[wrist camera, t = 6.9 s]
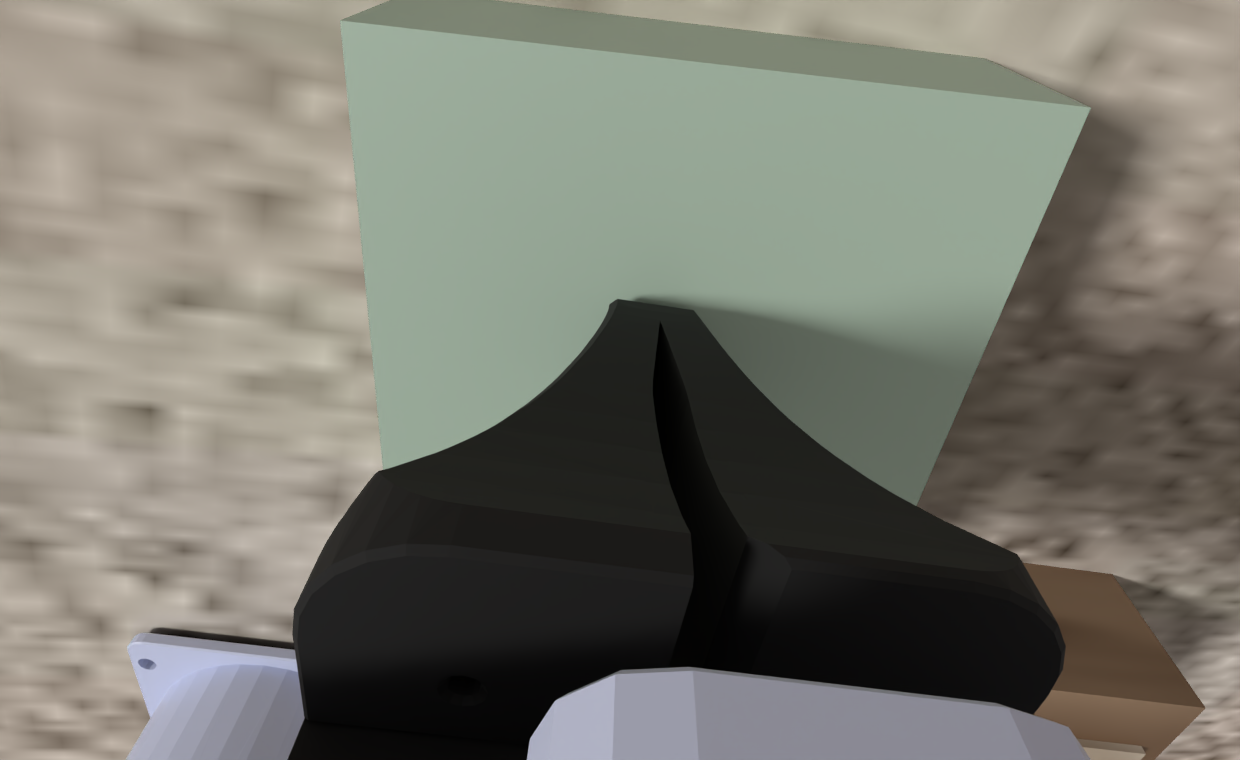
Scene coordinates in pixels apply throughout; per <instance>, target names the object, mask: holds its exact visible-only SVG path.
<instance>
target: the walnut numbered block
mask: <svg viewBox="0 0 1240 760" xmlns="http://www.w3.org/2000/svg"><path fill="white" fill-rule="evenodd" d="M1023 564H1024V566H1025V568H1026V569H1027V571H1028V573H1029V574H1030V576H1031V578H1032V580H1033V581H1034V583H1035V585H1036V587H1037V588H1038V590H1039V592H1040V593H1041V595H1042V597H1043V599H1044V600H1045V602H1046V604H1047V606H1048V607H1049V609H1050V611H1051V613H1052V614H1053V616H1054V618H1055V619H1056V621H1057V623H1058V625H1059V628H1060V631H1061V634H1062V637H1063V639H1064V642H1065V645H1066V650H1065V657H1064V665H1063V670H1062V672H1061V674H1060V676H1059V678H1058V679H1057V681H1056V683H1055V685H1054V686H1053V688H1052V690H1051V692H1050V693H1049V695H1048V697H1047V698H1046V699H1045V701H1044V702H1043V703H1042V704H1041V706H1040V707H1039V708H1038V710H1037V711H1036V712H1035V713H1034V715H1035V716H1038V717H1041V718H1044V719H1047V720H1050V721H1053V722H1056V723H1059V724H1061V725H1064V726H1067V727H1069V728H1070V730H1071V731H1072V733H1073V734H1074V736H1075V737H1076V739H1077V740H1078V741H1079V743H1080V744H1081V746H1082V747H1083V749H1084V750H1085V752H1086V753H1087V755H1088V756H1089V757H1090V759H1091V760H1154V759H1155V758H1156V757H1157V756H1158V755H1159V754H1160V753H1161V752H1162V751H1163V750H1164V749H1165V748H1166V747H1167V746H1168V745H1169V744H1170V743H1171V742H1172V741H1173V740H1174V739H1175V738H1176V737H1177V736H1178V735H1179V734H1180V733H1181V732H1182V731H1183V730H1184V729H1185V728H1186V727H1187V726H1188V725H1189V724H1190V723H1191V722H1192V721H1193V720H1194V719H1195V718H1196V717H1197V716H1198V715H1199V714H1200V713H1201V712H1202V711H1203V710H1204V709H1205V706H1204V705H1203V704H1202V702H1201V701H1200V699H1199V698H1198V696H1197V695H1196V694H1195V692H1194V691H1193V689H1192V688H1191V686H1190V685H1189V684H1188V682H1187V681H1186V679H1185V678H1184V676H1183V675H1182V674H1181V672H1180V671H1179V669H1178V668H1177V666H1176V665H1175V664H1174V662H1173V661H1172V659H1171V658H1170V656H1169V655H1168V654H1167V652H1166V651H1165V649H1164V648H1163V646H1162V645H1161V644H1160V642H1159V641H1158V639H1157V638H1156V636H1155V635H1154V634H1153V632H1152V631H1151V629H1150V628H1149V626H1148V625H1147V624H1146V622H1145V621H1144V619H1143V618H1142V616H1141V615H1140V613H1139V612H1138V611H1137V609H1136V608H1135V606H1134V605H1133V603H1132V602H1131V601H1130V599H1129V598H1128V596H1127V595H1126V593H1125V592H1124V591H1123V589H1122V588H1121V586H1120V585H1119V583H1118V582H1117V581H1116V579H1115V578H1114V576H1113V575H1112V574H1105V573H1098V572H1090V571H1082V570H1075V569H1067V568H1059V567H1051V566H1044V565H1036V564H1028V563H1023Z"/></svg>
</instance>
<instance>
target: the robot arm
mask: <svg viewBox="0 0 1240 760" xmlns="http://www.w3.org/2000/svg"><path fill="white" fill-rule="evenodd" d="M293 641H294V648H295V650H293V649H285V648H276V647H267V646H259V645H250V644H241V643H233V642H224V641H215V640H207V639H198V638H189V637H181V636H172V635H164V634H155V633H140V634H137V635H135V637H134V638H133V639H132V641H131V642H130V644H129V645H128V646H127V648H128V653H129V656H130V659H131V662H132V665H133V668H134V671H135V674H136V677H137V680H138V683H139V686H140V689H141V692H142V694H143V697H144V700H145V703H146V706H147V709H148V712H149V715H150V720H149V722H148V723H147V725H146V727H145V728H144V730H143V732H142V733H141V735H140V736H139V738H138V740H137V741H136V743H135V745H134V746H133V748H132V750H131V751H130V753H129V755H128V756H127V758H126V760H1091V759H1090V757H1089V756H1088V755H1087V753H1086V752H1085V750H1084V749H1083V747H1082V746H1081V744H1080V743H1079V741H1078V740H1077V739H1076V737H1075V736H1074V734H1073V733H1072V731H1071V730H1070V728H1069V727H1067V726H1064V725H1061V724H1059V723H1056V722H1053V721H1050V720H1047V719H1044V718H1041V717H1038V716H1035V715H1034V713H1035V712H1036V711H1037V710H1038V708H1039V707H1040V706H1041V704H1042V703H1043V702H1044V701H1045V699H1046V698H1047V697H1048V695H1049V693H1050V692H1051V690H1052V688H1053V686H1054V685H1055V683H1056V681H1057V679H1058V678H1059V676H1060V674H1061V672H1062V670H1063V665H1064V657H1065V650H1066V645H1065V642H1064V639H1063V637H1062V634H1061V631H1060V628H1059V625H1058V623H1057V621H1056V619H1055V618H1054V616H1053V614H1052V613H1051V611H1050V609H1049V607H1048V606H1047V604H1046V602H1045V600H1044V599H1043V597H1042V595H1041V593H1040V592H1039V590H1038V588H1037V587H1036V585H1035V583H1034V581H1033V580H1032V578H1031V576H1030V574H1029V573H1028V571H1027V569H1026V568H1025V566H1024V564H1023V563H1022V561H1021V560H1020V558H1019V556H1018V555H1017V554H1015V553H1013V552H1011V551H1009V550H1007V549H1004V548H1002V547H1000V546H998V545H996V544H993V543H991V542H989V541H987V540H985V539H983V538H980V537H978V536H976V535H974V534H972V533H969V532H967V531H965V530H963V529H961V528H958V527H956V526H954V525H952V524H950V523H948V522H945V521H943V520H941V519H939V518H937V517H935V516H933V515H932V514H930V513H928V512H926V511H924V510H922V509H921V508H919V507H917V506H915V505H913V504H912V503H910V502H908V501H906V500H904V499H902V498H901V497H899V496H897V495H895V494H893V493H892V492H890V491H888V490H887V489H885V488H884V487H882V486H880V485H879V484H877V483H875V482H874V481H872V480H870V479H869V478H867V477H866V476H864V475H863V474H861V473H860V472H858V471H857V470H855V469H854V468H852V467H851V466H850V465H848V464H847V463H845V462H844V461H842V460H841V459H839V458H838V457H836V456H835V455H833V454H832V453H831V452H829V451H828V450H827V449H825V448H824V447H823V446H821V445H820V444H819V443H817V442H816V441H815V440H814V439H813V438H811V437H810V436H809V435H808V434H807V433H805V432H804V431H803V430H802V429H801V428H799V427H798V426H797V425H796V424H795V423H793V422H792V421H791V420H790V419H789V418H788V417H787V416H785V415H784V414H783V413H782V412H781V411H780V410H779V409H778V408H777V407H776V406H775V405H774V404H773V403H772V402H771V401H770V400H769V399H768V398H767V397H766V396H765V395H764V394H763V393H762V392H761V391H760V390H759V389H758V388H757V387H756V386H755V385H754V384H753V383H752V381H751V380H750V379H749V378H748V377H747V376H746V375H745V374H744V373H743V371H742V370H741V369H740V368H739V367H738V366H737V364H736V363H735V362H734V361H733V360H732V358H731V357H730V356H729V355H728V354H727V352H726V351H725V350H724V349H723V347H722V346H721V345H720V344H719V342H718V341H717V340H716V338H715V337H714V336H713V335H712V333H711V332H710V331H709V329H708V328H707V327H706V325H705V324H704V323H703V321H702V320H701V319H700V317H699V316H698V315H697V314H696V312H695V311H694V310H690V309H683V308H676V307H669V306H663V305H656V304H649V303H642V302H636V301H629V300H622V299H617V300H615V301H613V302H612V303H610V304H609V309H608V312H607V314H606V316H605V318H604V320H603V322H602V324H601V325H600V327H599V328H598V330H597V331H596V333H595V334H594V336H593V337H592V338H591V340H590V341H589V342H588V344H587V345H586V346H585V347H584V349H583V350H582V351H581V353H580V354H579V355H578V356H577V357H576V358H575V359H574V360H573V361H572V363H571V364H570V365H569V366H568V367H567V368H566V369H565V370H564V371H563V372H562V373H561V374H560V375H559V376H558V377H557V378H556V379H555V380H554V381H553V382H552V383H551V384H550V385H549V386H548V387H547V388H545V389H544V390H543V391H542V392H541V393H540V394H538V395H537V396H536V397H535V398H533V399H532V400H531V401H530V402H528V403H527V404H526V405H524V406H523V407H521V408H520V409H518V410H517V411H516V412H514V413H513V414H511V415H510V416H508V417H507V418H505V419H504V420H502V421H501V422H499V423H498V424H496V425H494V426H493V427H491V428H489V429H487V430H485V431H483V432H481V433H479V434H478V435H476V436H474V437H472V438H469V439H467V440H465V441H463V442H460V443H458V444H456V445H454V446H451V447H449V448H447V449H444V450H442V451H439V452H437V453H434V454H431V455H428V456H425V457H422V458H419V459H416V460H413V461H410V462H407V463H404V464H401V465H398V466H395V467H392V468H388V469H385V470H381V471H378V472H377V473H376V474H375V475H374V476H373V477H372V478H371V480H370V481H369V482H368V483H367V485H366V486H365V487H364V489H363V490H362V491H361V493H360V494H359V495H358V497H357V498H356V499H355V501H354V502H353V503H352V505H351V506H350V508H349V509H348V510H347V512H346V513H345V515H344V516H343V518H342V519H341V520H340V522H339V523H338V525H337V526H336V528H335V529H334V531H333V532H332V534H331V536H330V537H329V539H328V541H327V542H326V544H325V546H324V548H323V550H322V552H321V554H320V556H319V558H318V560H317V562H316V564H315V566H314V568H313V570H312V572H311V574H310V577H309V579H308V581H307V583H306V585H305V587H304V589H303V591H302V593H301V595H300V598H299V600H298V602H297V604H296V606H295V608H294V620H293Z"/></svg>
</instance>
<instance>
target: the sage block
mask: <svg viewBox="0 0 1240 760" xmlns="http://www.w3.org/2000/svg"><path fill="white" fill-rule="evenodd" d="M340 24H341V35H342V45H343V56H344V66H345V77H346V87H347V98H348V108H349V118H350V129H351V139H352V150H353V160H354V171H355V181H356V191H357V202H358V212H359V223H360V233H361V244H362V254H363V264H364V275H365V285H366V296H367V306H368V317H369V327H370V338H371V348H372V358H373V369H374V379H375V390H376V400H377V411H378V421H379V431H380V442H381V452H382V463H383V470H385V469H388V468H392V467H395V466H398V465H401V464H404V463H407V462H410V461H413V460H416V459H419V458H422V457H425V456H428V455H431V454H434V453H437V452H439V451H442V450H444V449H447V448H449V447H451V446H454V445H456V444H458V443H460V442H463V441H465V440H467V439H469V438H472V437H474V436H476V435H478V434H479V433H481V432H483V431H485V430H487V429H489V428H491V427H493V426H494V425H496V424H498V423H499V422H501V421H502V420H504V419H505V418H507V417H508V416H510V415H511V414H513V413H514V412H516V411H517V410H518V409H520V408H521V407H523V406H524V405H526V404H527V403H528V402H530V401H531V400H532V399H533V398H535V397H536V396H537V395H538V394H540V393H541V392H542V391H543V390H544V389H545V388H547V387H548V386H549V385H550V384H551V383H552V382H553V381H554V380H555V379H556V378H557V377H558V376H559V375H560V374H561V373H562V372H563V371H564V370H565V369H566V368H567V367H568V366H569V365H570V364H571V363H572V361H573V360H574V359H575V358H576V357H577V356H578V355H579V354H580V353H581V351H582V350H583V349H584V347H585V346H586V345H587V344H588V342H589V341H590V340H591V338H592V337H593V336H594V334H595V333H596V331H597V330H598V328H599V327H600V325H601V324H602V322H603V320H604V318H605V316H606V314H607V312H608V309H609V304H610V303H612V302H613V301H615V300H617V299H622V300H629V301H636V302H642V303H649V304H656V305H663V306H669V307H676V308H683V309H690V310H694V311H695V312H696V314H697V315H698V316H699V317H700V319H701V320H702V321H703V323H704V324H705V325H706V327H707V328H708V329H709V331H710V332H711V333H712V335H713V336H714V337H715V338H716V340H717V341H718V342H719V344H720V345H721V346H722V347H723V349H724V350H725V351H726V352H727V354H728V355H729V356H730V357H731V358H732V360H733V361H734V362H735V363H736V364H737V366H738V367H739V368H740V369H741V370H742V371H743V373H744V374H745V375H746V376H747V377H748V378H749V379H750V380H751V381H752V383H753V384H754V385H755V386H756V387H757V388H758V389H759V390H760V391H761V392H762V393H763V394H764V395H765V396H766V397H767V398H768V399H769V400H770V401H771V402H772V403H773V404H774V405H775V406H776V407H777V408H778V409H779V410H780V411H781V412H782V413H783V414H784V415H785V416H787V417H788V418H789V419H790V420H791V421H792V422H793V423H795V424H796V425H797V426H798V427H799V428H801V429H802V430H803V431H804V432H805V433H807V434H808V435H809V436H810V437H811V438H813V439H814V440H815V441H816V442H817V443H819V444H820V445H821V446H823V447H824V448H825V449H827V450H828V451H829V452H831V453H832V454H833V455H835V456H836V457H838V458H839V459H841V460H842V461H844V462H845V463H847V464H848V465H850V466H851V467H852V468H854V469H855V470H857V471H858V472H860V473H861V474H863V475H864V476H866V477H867V478H869V479H870V480H872V481H874V482H875V483H877V484H879V485H880V486H882V487H884V488H885V489H887V490H888V491H890V492H892V493H893V494H895V495H897V496H899V497H901V498H902V499H904V500H906V501H908V502H910V503H912V504H913V505H915V506H917V503H918V501H919V499H920V496H921V494H922V492H923V490H924V487H925V485H926V483H927V481H928V478H929V476H930V474H931V471H932V469H933V467H934V465H935V462H936V460H937V458H938V455H939V453H940V451H941V449H942V446H943V444H944V442H945V439H946V437H947V435H948V433H949V430H950V428H951V426H952V424H953V421H954V419H955V417H956V414H957V412H958V410H959V408H960V405H961V403H962V401H963V398H964V396H965V394H966V392H967V389H968V387H969V385H970V382H971V380H972V378H973V376H974V373H975V371H976V369H977V367H978V364H979V362H980V360H981V357H982V355H983V353H984V351H985V348H986V346H987V344H988V341H989V339H990V337H991V335H992V332H993V330H994V328H995V325H996V323H997V321H998V319H999V316H1000V314H1001V312H1002V310H1003V307H1004V305H1005V303H1006V300H1007V298H1008V296H1009V294H1010V291H1011V289H1012V287H1013V284H1014V282H1015V280H1016V278H1017V275H1018V273H1019V271H1020V268H1021V266H1022V264H1023V262H1024V259H1025V257H1026V255H1027V253H1028V250H1029V248H1030V246H1031V243H1032V241H1033V239H1034V237H1035V234H1036V232H1037V230H1038V227H1039V225H1040V223H1041V221H1042V218H1043V216H1044V214H1045V211H1046V209H1047V207H1048V205H1049V202H1050V200H1051V198H1052V196H1053V193H1054V191H1055V189H1056V186H1057V184H1058V182H1059V180H1060V177H1061V175H1062V173H1063V170H1064V168H1065V166H1066V164H1067V161H1068V159H1069V157H1070V154H1071V152H1072V150H1073V148H1074V145H1075V143H1076V141H1077V139H1078V136H1079V134H1080V132H1081V129H1082V127H1083V125H1084V123H1085V120H1086V118H1087V116H1088V113H1089V111H1090V109H1091V107H1089V106H1086V105H1084V104H1082V103H1080V102H1078V101H1076V100H1073V99H1071V98H1069V97H1067V96H1065V95H1063V94H1060V93H1058V92H1056V91H1054V90H1052V89H1050V88H1048V87H1045V86H1043V85H1041V84H1039V83H1037V82H1035V81H1032V80H1030V79H1028V78H1026V77H1024V76H1022V75H1019V74H1017V73H1015V72H1013V71H1011V70H1009V69H1006V68H1004V67H1002V66H1000V65H998V64H996V63H993V62H991V61H989V60H987V59H985V58H977V57H969V56H960V55H952V54H943V53H935V52H926V51H918V50H909V49H901V48H892V47H884V46H876V45H867V44H859V43H850V42H842V41H833V40H825V39H816V38H808V37H799V36H791V35H782V34H774V33H765V32H757V31H749V30H740V29H732V28H723V27H715V26H706V25H698V24H689V23H681V22H672V21H664V20H655V19H647V18H638V17H630V16H622V15H613V14H605V13H596V12H588V11H579V10H571V9H562V8H554V7H545V6H537V5H528V4H520V3H512V2H503V1H495V0H390V1H387V2H385V3H382V4H380V5H377V6H375V7H372V8H370V9H367V10H365V11H362V12H360V13H357V14H355V15H352V16H350V17H348V18H345V19H343V20H340Z"/></svg>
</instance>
